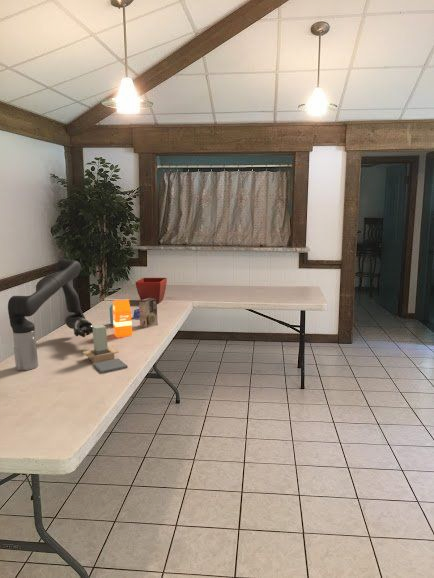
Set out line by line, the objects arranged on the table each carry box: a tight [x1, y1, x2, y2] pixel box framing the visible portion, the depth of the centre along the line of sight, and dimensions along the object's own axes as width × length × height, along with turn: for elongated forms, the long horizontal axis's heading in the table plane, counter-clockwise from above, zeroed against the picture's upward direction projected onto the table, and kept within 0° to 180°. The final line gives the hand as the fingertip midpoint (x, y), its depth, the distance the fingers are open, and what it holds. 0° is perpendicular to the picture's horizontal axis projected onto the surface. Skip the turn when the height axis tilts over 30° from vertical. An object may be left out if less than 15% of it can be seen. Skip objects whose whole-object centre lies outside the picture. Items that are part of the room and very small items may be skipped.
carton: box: [82, 346, 120, 364], centre depth 219 cm, size 15×10×4 cm, turn 122°
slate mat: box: [92, 358, 128, 374], centre depth 208 cm, size 12×12×1 cm
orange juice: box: [112, 298, 133, 338], centre depth 257 cm, size 8×9×20 cm
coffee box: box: [138, 298, 159, 329], centre depth 276 cm, size 9×6×16 cm
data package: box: [109, 304, 114, 326], centre depth 281 cm, size 12×4×12 cm, turn 96°
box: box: [92, 324, 108, 355], centre depth 218 cm, size 5×5×16 cm
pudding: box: [131, 308, 140, 320], centre depth 298 cm, size 12×12×5 cm
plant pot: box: [135, 277, 168, 304], centre depth 342 cm, size 19×19×17 cm
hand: (92, 333), depth 227 cm, fingers open, 8 cm apart
